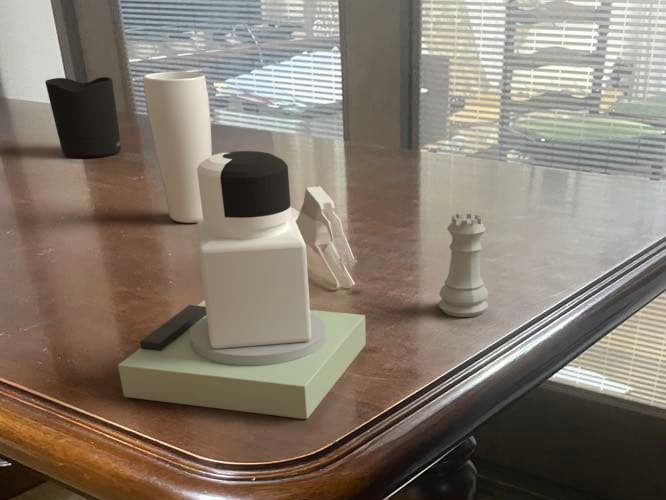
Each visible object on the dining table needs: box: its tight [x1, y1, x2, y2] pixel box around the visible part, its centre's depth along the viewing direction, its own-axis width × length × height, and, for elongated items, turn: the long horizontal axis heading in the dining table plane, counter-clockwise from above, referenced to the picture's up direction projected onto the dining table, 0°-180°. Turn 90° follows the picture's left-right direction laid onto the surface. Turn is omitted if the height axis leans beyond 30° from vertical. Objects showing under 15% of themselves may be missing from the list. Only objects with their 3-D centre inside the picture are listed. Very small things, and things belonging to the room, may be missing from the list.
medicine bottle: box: [195, 150, 311, 349], centre depth 62 cm, size 7×7×12 cm
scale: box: [117, 299, 367, 420], centre depth 66 cm, size 14×14×3 cm
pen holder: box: [44, 76, 122, 159], centre depth 132 cm, size 9×9×10 cm
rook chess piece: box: [437, 212, 489, 318], centre depth 76 cm, size 4×4×8 cm
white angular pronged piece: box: [291, 185, 358, 290], centre depth 87 cm, size 2×11×18 cm
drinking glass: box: [142, 71, 213, 224], centre depth 99 cm, size 7×7×15 cm
